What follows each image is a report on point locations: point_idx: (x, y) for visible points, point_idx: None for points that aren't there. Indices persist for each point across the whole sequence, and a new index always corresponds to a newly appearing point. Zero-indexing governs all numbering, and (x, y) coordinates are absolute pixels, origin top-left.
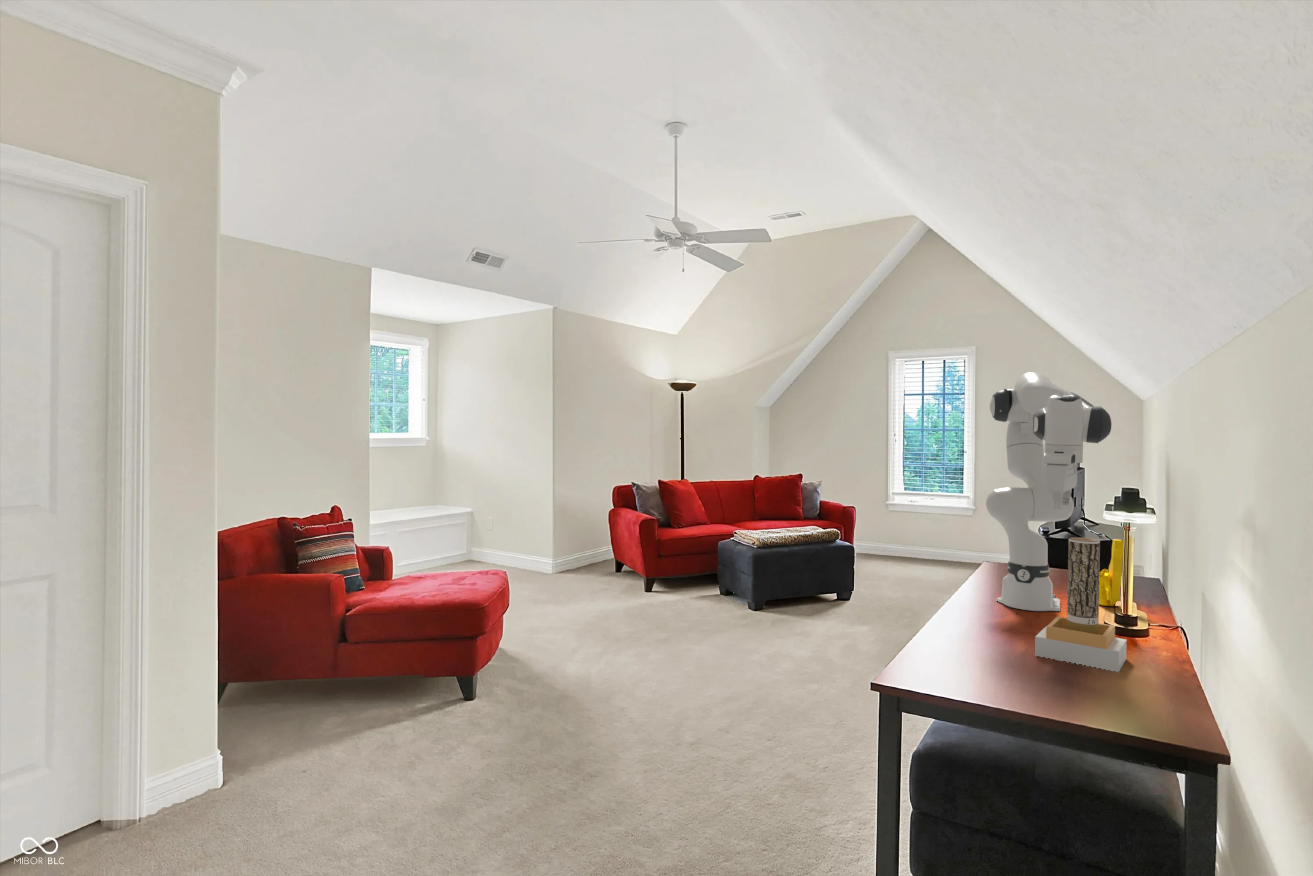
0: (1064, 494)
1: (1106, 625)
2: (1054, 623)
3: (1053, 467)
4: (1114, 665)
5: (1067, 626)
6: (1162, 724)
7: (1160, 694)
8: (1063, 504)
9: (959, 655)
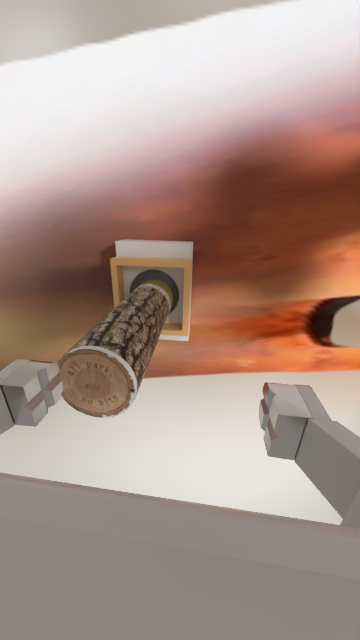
0: (344, 466)
1: (182, 327)
2: (139, 265)
3: None
4: None
5: (144, 282)
6: None
7: None
8: (263, 392)
9: (44, 145)
